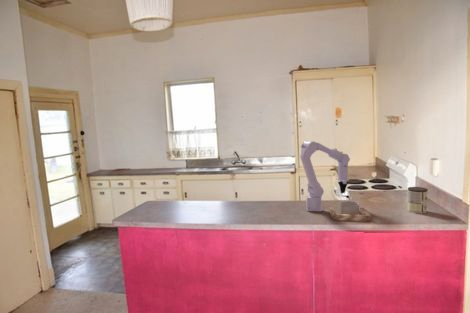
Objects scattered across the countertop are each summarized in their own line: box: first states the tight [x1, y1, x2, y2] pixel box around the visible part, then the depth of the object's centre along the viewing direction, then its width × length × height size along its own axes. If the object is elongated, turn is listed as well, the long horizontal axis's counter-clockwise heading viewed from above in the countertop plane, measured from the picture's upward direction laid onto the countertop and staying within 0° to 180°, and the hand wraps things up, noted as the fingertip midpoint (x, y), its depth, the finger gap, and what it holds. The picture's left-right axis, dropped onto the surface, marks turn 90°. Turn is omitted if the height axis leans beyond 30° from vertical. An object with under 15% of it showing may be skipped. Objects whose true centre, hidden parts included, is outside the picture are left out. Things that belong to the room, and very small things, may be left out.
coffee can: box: [407, 186, 428, 215], centre depth 190 cm, size 10×10×14 cm
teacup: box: [339, 200, 360, 215], centre depth 185 cm, size 14×11×8 cm
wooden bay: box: [329, 206, 372, 222], centre depth 184 cm, size 20×17×3 cm
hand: (342, 192), depth 203 cm, fingers closed
